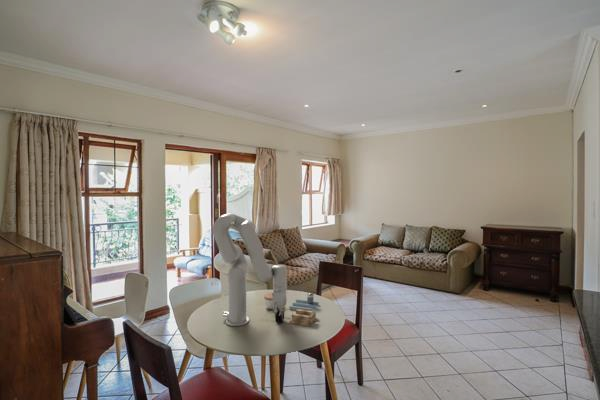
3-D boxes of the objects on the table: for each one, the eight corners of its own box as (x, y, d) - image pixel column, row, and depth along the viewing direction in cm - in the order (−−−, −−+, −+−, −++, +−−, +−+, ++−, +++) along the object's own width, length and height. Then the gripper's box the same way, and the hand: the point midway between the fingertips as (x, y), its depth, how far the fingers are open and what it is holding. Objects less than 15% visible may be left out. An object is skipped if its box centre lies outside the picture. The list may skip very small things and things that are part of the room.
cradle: (289, 323, 162) (289, 314, 162) (296, 316, 171) (296, 308, 171) (310, 326, 158) (310, 318, 158) (316, 319, 167) (316, 311, 167)
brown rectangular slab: (295, 317, 164) (295, 316, 164) (297, 314, 168) (297, 313, 168) (307, 319, 161) (307, 318, 161) (309, 316, 166) (309, 314, 166)
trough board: (288, 311, 179) (288, 306, 179) (295, 303, 191) (295, 299, 191) (313, 314, 173) (313, 309, 173) (319, 306, 186) (319, 302, 186)
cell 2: (306, 306, 183) (306, 293, 183) (308, 304, 186) (308, 291, 186) (312, 307, 182) (312, 294, 181) (314, 305, 185) (314, 292, 185)
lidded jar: (283, 305, 188) (283, 290, 188) (279, 311, 177) (279, 296, 177) (266, 304, 190) (266, 289, 190) (261, 310, 179) (261, 295, 179)
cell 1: (275, 322, 163) (275, 307, 162) (278, 319, 166) (278, 305, 166) (281, 323, 161) (281, 308, 161) (284, 320, 165) (284, 306, 165)
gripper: (279, 282, 172) (279, 313, 173) (267, 291, 157) (267, 325, 157) (291, 284, 170) (291, 315, 170) (280, 293, 154) (280, 327, 155)
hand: (279, 320), depth 164 cm, fingers closed on cell 1, 3 cm apart
